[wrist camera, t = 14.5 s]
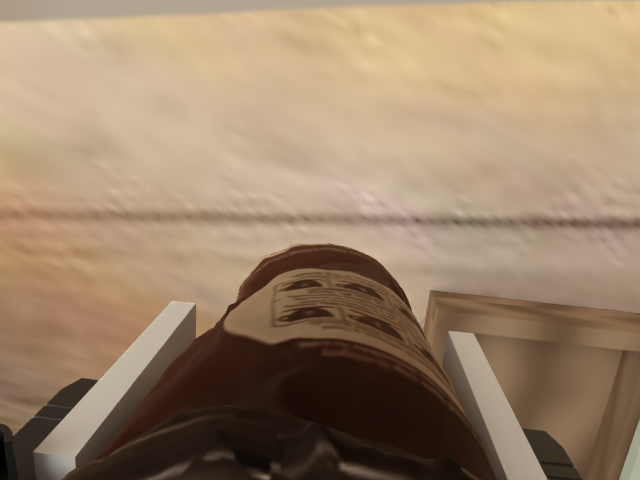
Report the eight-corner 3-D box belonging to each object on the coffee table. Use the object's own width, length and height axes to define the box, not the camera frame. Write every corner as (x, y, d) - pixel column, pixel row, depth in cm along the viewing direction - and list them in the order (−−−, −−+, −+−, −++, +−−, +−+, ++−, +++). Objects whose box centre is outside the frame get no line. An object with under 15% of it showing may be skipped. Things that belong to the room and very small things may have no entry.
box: (399, 473, 36) (403, 507, 33) (430, 290, 32) (438, 310, 29) (585, 497, 36) (607, 534, 33) (643, 314, 31) (674, 337, 28)
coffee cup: (282, 154, 16) (1, 364, 3) (490, 279, 16) (923, 848, 4) (171, 352, 18) (-233, 909, 6) (357, 453, 19) (362, 1146, 6)
